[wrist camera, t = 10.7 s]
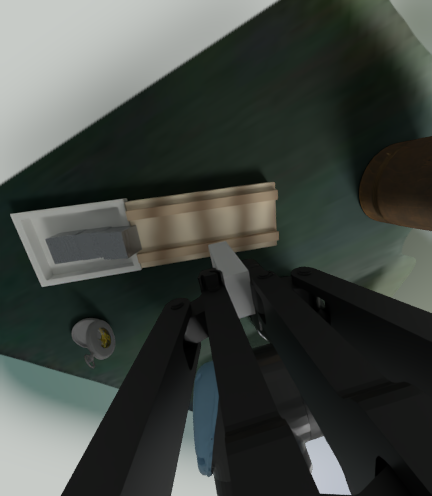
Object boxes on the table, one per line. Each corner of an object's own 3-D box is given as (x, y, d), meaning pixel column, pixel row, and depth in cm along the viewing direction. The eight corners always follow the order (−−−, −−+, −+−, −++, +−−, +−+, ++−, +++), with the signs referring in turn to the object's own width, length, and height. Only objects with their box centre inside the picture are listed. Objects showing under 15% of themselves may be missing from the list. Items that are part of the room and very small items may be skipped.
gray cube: (136, 225, 32) (120, 231, 29) (142, 249, 34) (128, 258, 30) (113, 227, 33) (96, 233, 29) (120, 250, 34) (104, 259, 31)
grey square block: (111, 226, 34) (102, 231, 31) (118, 248, 36) (110, 256, 32) (86, 229, 34) (74, 235, 30) (93, 252, 35) (83, 260, 32)
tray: (127, 198, 34) (122, 199, 32) (143, 264, 38) (141, 270, 35) (22, 212, 32) (9, 214, 30) (51, 280, 36) (41, 286, 34)
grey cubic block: (74, 234, 30) (44, 238, 30) (82, 259, 31) (54, 264, 31) (86, 229, 34) (60, 232, 34) (93, 251, 35) (68, 255, 35)
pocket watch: (68, 337, 40) (32, 384, 30) (87, 303, 38) (56, 342, 29) (109, 352, 42) (87, 400, 33) (128, 320, 41) (112, 362, 31)
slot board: (267, 182, 37) (277, 181, 33) (270, 240, 40) (279, 246, 36) (129, 200, 34) (122, 203, 30) (144, 261, 38) (140, 270, 34)
